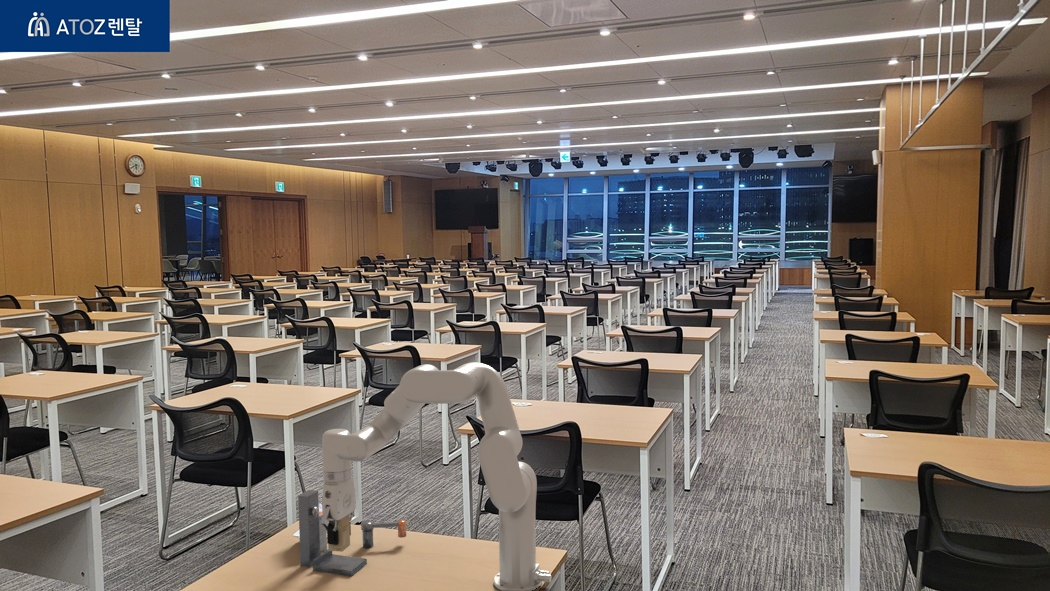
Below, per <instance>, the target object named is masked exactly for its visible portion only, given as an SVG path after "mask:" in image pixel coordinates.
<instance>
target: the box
mask: <svg viewBox="0 0 1050 591" xmlns="http://www.w3.org/2000/svg"><path fill="white" fill-rule="evenodd" d="M330 518H332V516H330ZM350 522H351V521H350V518H349V515H347V516H346V517H344V518H343V519H341V520H339V521H338V524H337V530H338V538H339V544H338V545H332V544H328V543H327V550H329V551H332V552H344V551H345V550H347V548H348V547H350V546H351V535H350ZM330 523H332V524H334V521H331V522H330Z"/></svg>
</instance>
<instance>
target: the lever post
mask: <svg viewBox="0 0 1050 591" xmlns="http://www.w3.org/2000/svg"><path fill="white" fill-rule="evenodd" d="M361 532H362V548H364V549H371V548H373V547H374V529H373V530H370V531H363V530H361Z"/></svg>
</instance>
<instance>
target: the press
mask: <svg viewBox="0 0 1050 591" xmlns="http://www.w3.org/2000/svg"><path fill="white" fill-rule="evenodd" d="M297 496H298V497H297V501H298V502H297V503H298V525H299V528H298V529H299V554H300V555H299V556H300V560H299V561H300V567H303V568H312V572H318V573H319V572H320V573H326V574H332V575H333V574H334V575H338V576H346V577H353V576H354V575H356V573H358V572H359V571H360V570H362V569H363V568H364V567H365V566H367V565H368V560H367V558H364V557H355V556H350V555H349V556H348V555H341V554H334V553H333V551H329V550H328V549H327V550H324V552H322V553H321V551H320V534H319V504H320V503H319V490H315V489H308V490H306V491H304V492H302V493H300V494H298V495H297Z"/></svg>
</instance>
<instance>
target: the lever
mask: <svg viewBox="0 0 1050 591" xmlns="http://www.w3.org/2000/svg"><path fill="white" fill-rule="evenodd" d="M392 527H395V528H396V527H397V537H398V538H406V537H407V520H406V519H399V520H398V521H385V522H375V521H373V520H364V521H361V523H360V528H361V531H362V530H363V531H370V530H373V531H374V529H376V528H377V529H378V528H379V529H380V528H392Z"/></svg>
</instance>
